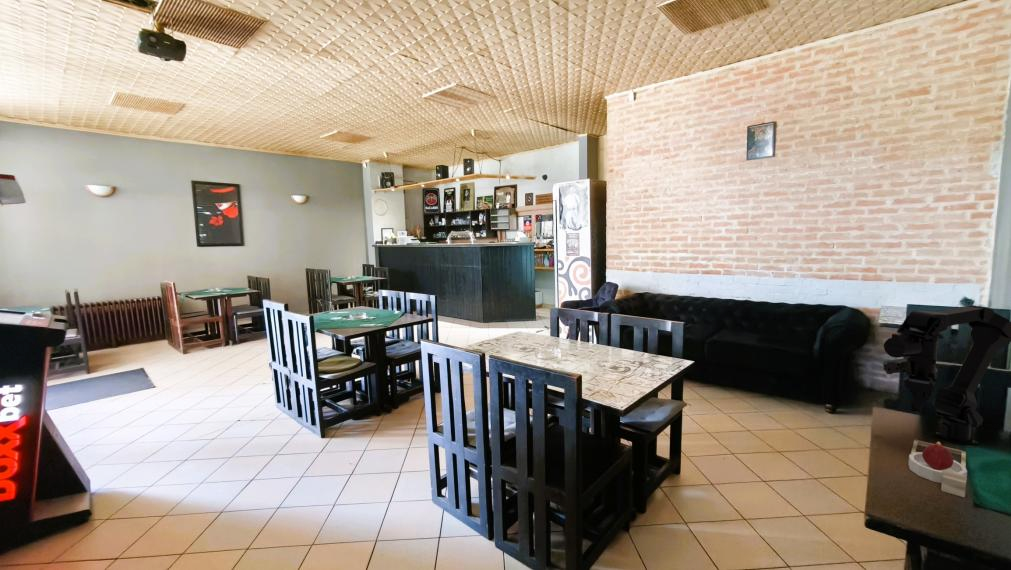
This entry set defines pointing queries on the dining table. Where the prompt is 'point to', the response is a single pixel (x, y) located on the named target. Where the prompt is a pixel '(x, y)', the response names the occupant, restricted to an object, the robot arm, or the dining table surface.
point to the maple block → (953, 483)
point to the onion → (937, 457)
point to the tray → (951, 450)
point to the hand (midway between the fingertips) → (918, 404)
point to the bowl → (926, 471)
